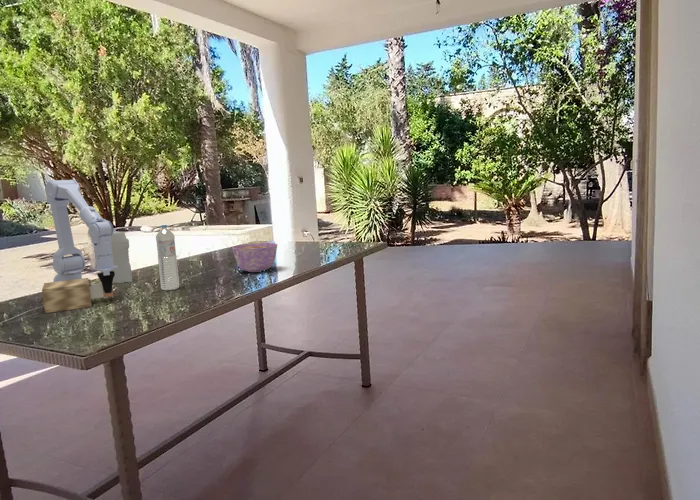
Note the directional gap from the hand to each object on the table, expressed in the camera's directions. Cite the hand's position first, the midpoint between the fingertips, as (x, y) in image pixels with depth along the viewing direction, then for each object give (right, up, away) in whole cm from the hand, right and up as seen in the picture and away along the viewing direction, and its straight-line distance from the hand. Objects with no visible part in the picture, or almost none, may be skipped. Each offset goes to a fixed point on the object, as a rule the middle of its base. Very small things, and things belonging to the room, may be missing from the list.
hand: (108, 292), depth 188 cm
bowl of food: (+45, +5, +46) cm, 65 cm away
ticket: (-7, -2, -3) cm, 8 cm away
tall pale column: (-11, +1, +36) cm, 38 cm away
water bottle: (+17, 0, +16) cm, 23 cm away
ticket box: (-11, -4, -5) cm, 13 cm away
